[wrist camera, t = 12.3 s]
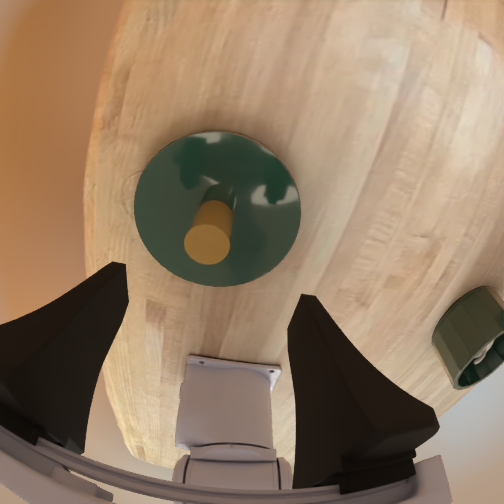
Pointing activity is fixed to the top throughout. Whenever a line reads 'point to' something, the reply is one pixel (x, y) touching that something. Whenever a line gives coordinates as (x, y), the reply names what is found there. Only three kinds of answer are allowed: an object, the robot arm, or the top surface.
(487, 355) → the pot
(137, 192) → the lid
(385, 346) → the top surface
